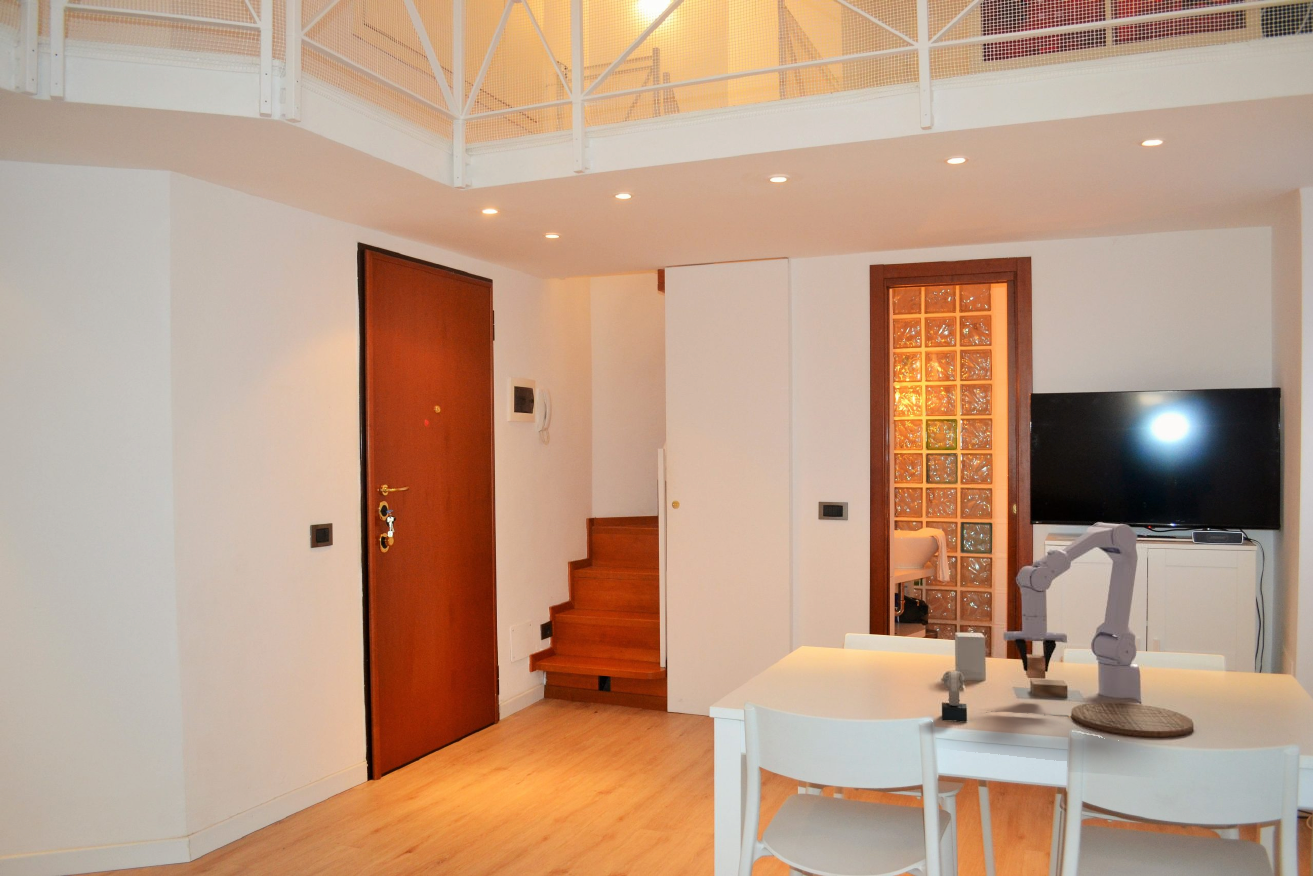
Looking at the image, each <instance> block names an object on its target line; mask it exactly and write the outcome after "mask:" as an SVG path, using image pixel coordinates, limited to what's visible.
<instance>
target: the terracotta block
mask: <svg viewBox="0 0 1313 876" xmlns="http://www.w3.org/2000/svg"><path fill="white" fill-rule="evenodd" d="M1025 675H1026V677H1027V678H1028V679H1044V680H1046V672H1045V657H1044V654H1028V653H1027V671H1025Z"/></svg>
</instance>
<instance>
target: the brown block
mask: <svg viewBox="0 0 1313 876" xmlns="http://www.w3.org/2000/svg"><path fill="white" fill-rule="evenodd" d="M1029 679H1030V681H1029V682H1030V687H1029V688H1030V690H1031V692H1032V694H1033V696H1042V697H1061V698H1068V691H1067V690H1068V684H1067V683H1066V682H1065V680H1062V679H1061V680H1060V679H1059V680H1057V679H1040V678H1029Z"/></svg>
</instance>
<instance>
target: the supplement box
mask: <svg viewBox="0 0 1313 876" xmlns="http://www.w3.org/2000/svg"><path fill="white" fill-rule="evenodd" d="M954 656H955V657H954V659H955V660H954V663H955V664H954V667H955V668H954V669H955V670H954V671H959V672H961V674H962V675H963V676H964V681H965V680H966V681H987V675H986V674H987V671H986V669H987V668H986V660H987V659H986V636H984V635H983V633H981V632H954Z"/></svg>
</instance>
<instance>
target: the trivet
mask: <svg viewBox="0 0 1313 876" xmlns="http://www.w3.org/2000/svg"><path fill="white" fill-rule="evenodd" d="M1071 719H1072V720H1073V722H1075V724H1078V725H1079V726H1081V727H1084V728H1087V729H1090V730H1093V731H1097V732H1101V733H1106V734H1111V735H1116V736H1123V737H1132V738H1140V739H1142V738H1143V739H1173V738H1180V737H1186V736H1189V735H1191V734H1192V733H1193V731H1194V721H1193V719H1191V718H1190V717H1188V716H1187V715H1186V714H1183V713H1179V712H1177V711H1174V710H1170V709H1166V708H1161V707H1156V706H1151V705H1144V704H1138V703H1127V702H1126V703H1125V702H1109V701H1107V702H1106V701H1105V702H1103V701H1102V702H1089V703H1082V704H1079V705H1076V706H1074V707H1073V708H1072V709H1071Z"/></svg>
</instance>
